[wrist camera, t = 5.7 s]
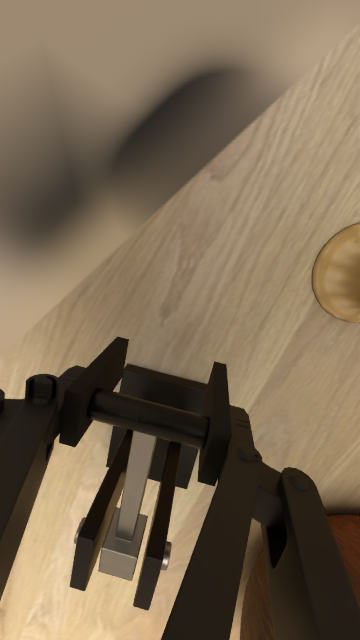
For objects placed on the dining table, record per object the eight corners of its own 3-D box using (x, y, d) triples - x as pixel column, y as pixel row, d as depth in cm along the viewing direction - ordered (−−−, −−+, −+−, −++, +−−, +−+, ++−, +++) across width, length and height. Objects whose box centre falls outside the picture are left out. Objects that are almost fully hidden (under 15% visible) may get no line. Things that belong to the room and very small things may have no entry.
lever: (104, 375, 14) (82, 409, 12) (211, 404, 14) (208, 443, 12) (89, 523, 20) (73, 564, 18) (165, 545, 20) (157, 589, 17)
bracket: (127, 363, 28) (49, 474, 15) (215, 386, 27) (216, 521, 14) (109, 458, 31) (33, 616, 18) (187, 480, 31) (167, 658, 18)
